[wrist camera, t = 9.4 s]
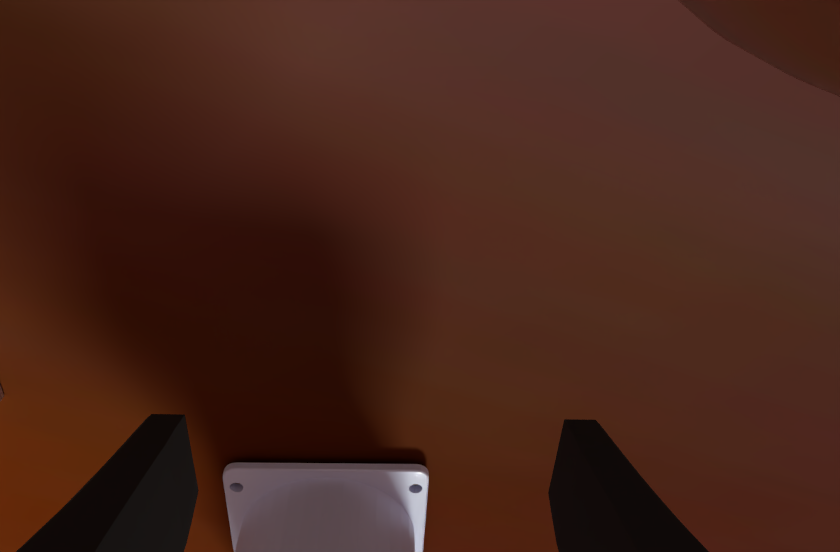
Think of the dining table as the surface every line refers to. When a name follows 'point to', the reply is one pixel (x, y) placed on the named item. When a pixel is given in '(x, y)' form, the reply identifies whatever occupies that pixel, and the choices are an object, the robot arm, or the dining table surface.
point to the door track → (1, 393)
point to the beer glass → (781, 34)
